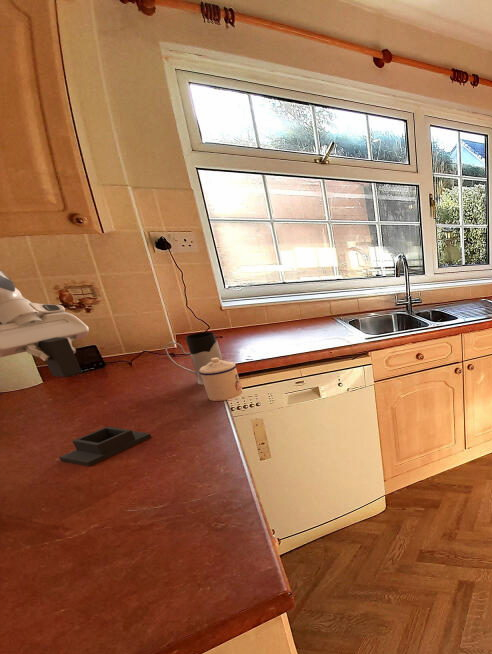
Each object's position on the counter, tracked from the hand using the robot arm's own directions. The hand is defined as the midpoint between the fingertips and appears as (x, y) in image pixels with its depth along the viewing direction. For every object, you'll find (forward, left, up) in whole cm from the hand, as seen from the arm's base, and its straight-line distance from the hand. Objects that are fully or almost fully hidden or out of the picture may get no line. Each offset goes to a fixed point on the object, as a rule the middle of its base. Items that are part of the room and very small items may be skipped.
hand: (61, 355), depth 115 cm
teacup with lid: (+35, -15, -15) cm, 41 cm away
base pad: (+12, -37, -15) cm, 41 cm away
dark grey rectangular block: (-1, 0, -5) cm, 5 cm away
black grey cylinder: (+29, +2, -15) cm, 33 cm away
